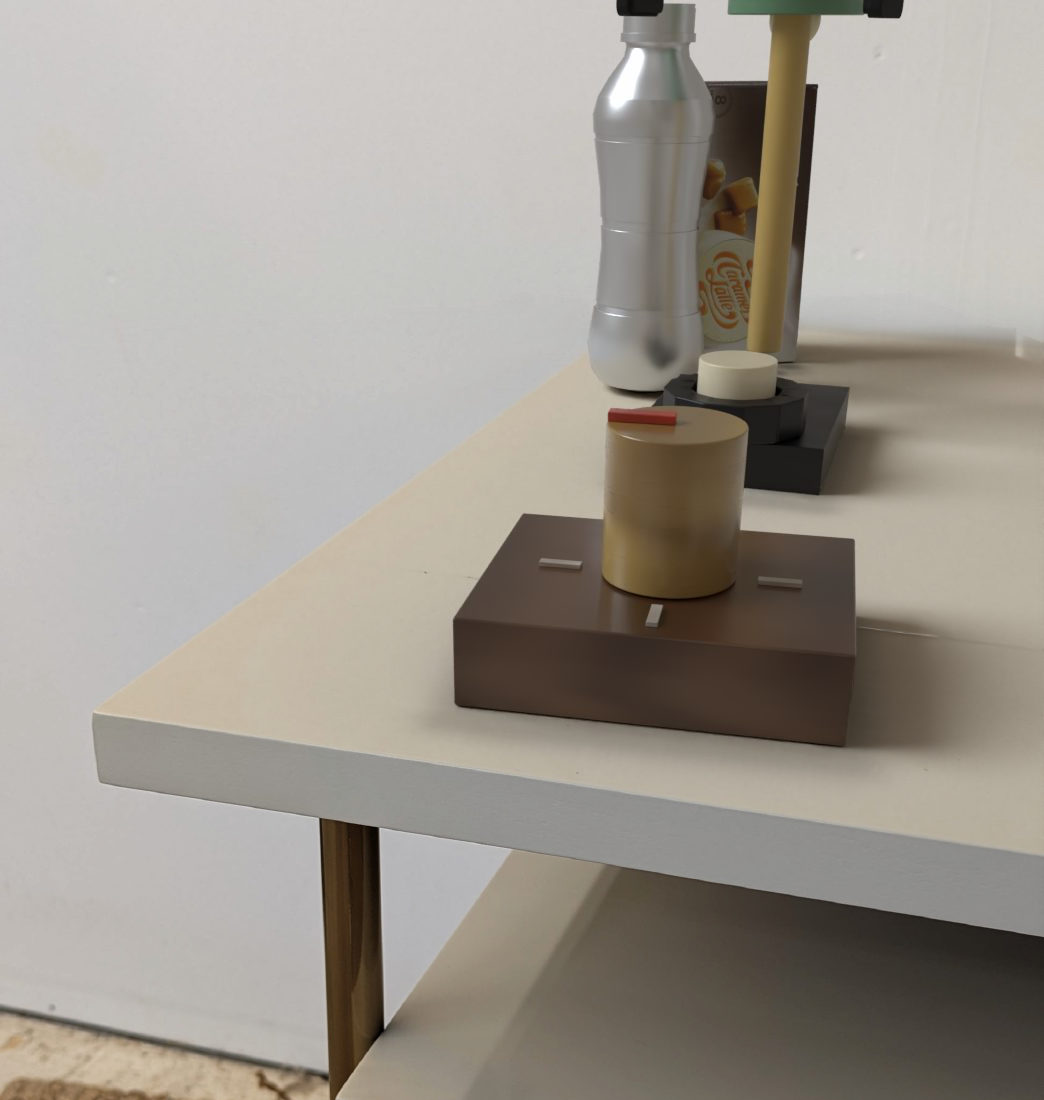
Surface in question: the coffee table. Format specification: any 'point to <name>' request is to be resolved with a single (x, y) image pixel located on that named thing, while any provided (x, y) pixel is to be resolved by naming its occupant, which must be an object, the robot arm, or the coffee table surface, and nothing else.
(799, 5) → the lamp
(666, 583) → the dimmer knob
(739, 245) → the coffee box
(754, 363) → the button
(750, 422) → the black button base
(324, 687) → the coffee table surface
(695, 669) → the dimmer panel
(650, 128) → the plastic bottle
